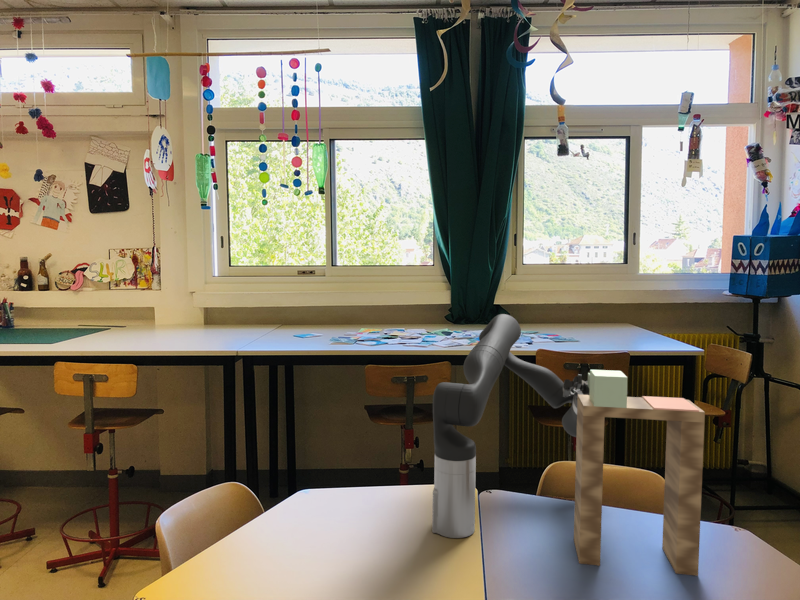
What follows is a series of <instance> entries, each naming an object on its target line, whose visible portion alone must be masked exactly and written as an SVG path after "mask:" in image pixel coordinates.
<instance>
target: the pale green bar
mask: <svg viewBox="0 0 800 600" xmlns="http://www.w3.org/2000/svg"><path fill="white" fill-rule="evenodd" d="M587 381H588V387H589V389H590V392H589V398H590V400H591V402H592V404H593V405H594V406H598V407H617V408H627V397H628V394H627V388H628V376H627V375H626V374H625V373H624V372H623V371H622V370H612V369H611V370H610V369H609V370H608V369H607V370H606V369H590V370H589V372H587Z"/></svg>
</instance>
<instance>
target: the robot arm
mask: <svg viewBox="0 0 800 600" xmlns="http://www.w3.org/2000/svg"><path fill="white" fill-rule="evenodd" d="M521 335H522V328H521V326H520V323H519V322H518V320H517V319H516V318H514V317H513V316H512V315H510V314H507V313H506V314H505V313H500V314H497V315H496V316H494V317H493V318H492V319H491V320H490V321H489V323H488V324H487V325H486V326H485V327H484V329H483V330H482V331H481V332H480V334H479V335H478V340H479V341H478V342H477V343H476V345H474V347H472V348H471V350H470V352H469V353H468V354H467V356H466V358H465V360H464V363H463V366H462V367H463V375H464V376H465V377H464V378H465V379H466V381H467V382H468V384H467V383H458V382H457V383H456V382H447V381H445V382H444V381H443V382H440V383H437V384H436V386H435V388H434V392H433V395H432V419H433V421H432V425H433V445H434V469H433V470H434V473H433V474H434V478H433V479H434V480H433V482H434V483H433V485H434V486H433V490H432V520H431V521H432V523H431V524H432V525H431V526H432V527H431V528H432V530H431V532H432V533H434V534H438V535H441V536H442V537H446V538H449V539H450V538H451V539H462V538H467V537H469V536H471V535H473V534H474V533H475V530H476V529H475V527H476V526H475V524H476V518H475V517H476V475H477V474H476V470H477V467H476V466H477V463H476V462H477V460H476V459H477V447H476V443H475V441H474V440H472V439H471V438H470V437H469V436H466V435H464V434H462V433H461V432H460V431H458V430H457V429H456V428H455V426H460V427H466V428H468V427H469V428H470V427H474V426H477V424H479V422H480V421H481V419H482V417H483V414H484V412H485V409H486V406H487V402H488V400H489V397H490V394H491V391H492V390H493V387H494V385H495V383H496V381H497V380H498V378H499V376H500V374H501V372H502V370H503V368H504V366H505V367H506V368H508V369H509V370H510V371H511V372H513V373H514V374H516V375H517V376H518V377H519V378H521V379H522V380H524V381H525V382H526V384H528V385H529V386H530V387H531V388H533V389H534V391H536V393H537V394H538V395H540V396H541V398H542V399H544V401H546V402H547V404H549V405H550V407H552V408H553V409H559V408H561V407H562V406H564V405H565V404H568V403H569V404H571V405H570V407H569V409H568V410H567V411H566V412H565V413H564V415H563V416H562V419H561V425H562V427H563V429H564V431H565V432H566V434H568V435H570V436H572V437H575V438H576V437H577V400H578V394H580V395H589V392H590V389H589V387H588V380H586V381H585V380H583V376H582V374H579V373H578V374H577V376H574V378H573V379H572V380H570V379H568V378H567V379H564V381H563V380H562V379H561V378H560V377H559V376H558V375H557V374H556V373H554V372H553V370H550V369H549V368H547V367H545V366H541V365H539V364H535V363H531V362H528V361H524V360H523V359H520V358H518V357H517V356H515V354H513V353H512V352H511V349H512V348H513V346H514V345H515V344H516V343H517V342H518V340H519V339H520V337H521ZM628 394H629V390H628V387H627V395H628Z"/></svg>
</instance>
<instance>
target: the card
mask: <svg viewBox="0 0 800 600" xmlns="http://www.w3.org/2000/svg"><path fill="white" fill-rule="evenodd" d="M641 397H642V398H643V399H644V400H645V401H646V402H647V403H648V404H649V405H650V406H651V407H652V408H653V409H655V410H674V411H693V412H699V410H698V409H697V408H696V407H694V406H693V405H692V404H690V403H689V402H688V401H687V400H688V399H686V398H684V397H667V396H650V395H649V396H648V395H646V396H645V395H642V396H641Z"/></svg>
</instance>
